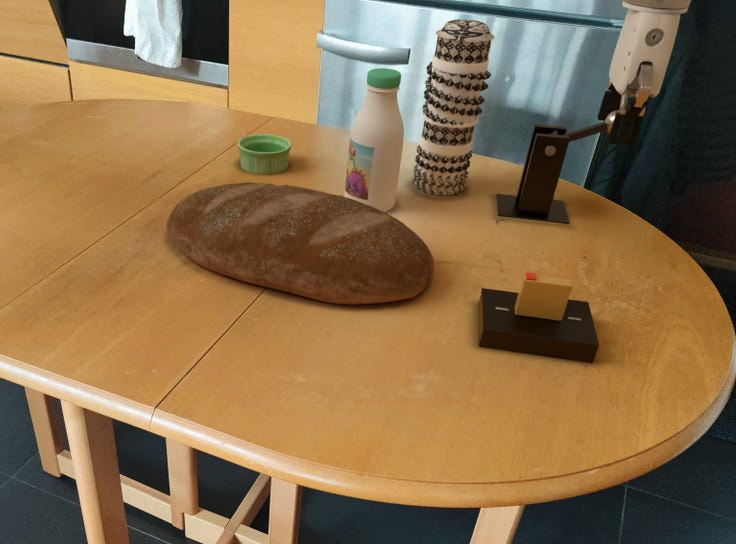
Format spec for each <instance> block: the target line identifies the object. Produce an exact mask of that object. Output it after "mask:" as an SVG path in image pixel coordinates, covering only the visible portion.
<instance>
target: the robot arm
mask: <svg viewBox="0 0 736 544" xmlns="http://www.w3.org/2000/svg"><path fill="white" fill-rule="evenodd" d="M691 2H692V0H622V3H621V6H622V7H624V8H626V9H628V11H627V13H626V15H625V17H624V22H623V24H622V27H621V31H620V33H619V36H618V39H617V42H616V45H615V49H614V52H613V56H612V59H611V63H610V67H609V72H608V77H609V80H608V81H607V85H606V90H605V91H604V92H603V93H604V94H603V96H602V99H601V100H602V101H601V103H600V107H599V110H598V113H597V117H596V118H597V120H598V121H601V122H604V121H605V120H606V118H607V116H608V115H609V114H610V113H611V112H613V111H616V110H620V112H616V115H615V118H614V121H613V124H612V127H611V130H610V133H608V137H607V143H608V144H609V145H616V146H617V145H618V146H627V147H631V146H633V145H634V144H635V141H636V138H637V135H638V132H639V129H640V126H641V123H642V121H643V118H644V115H645V112H646V106H648V103H649V102H648V98H649V97H650V98H655V97H657V96H658V95H659V94H660V92H661V89H662V85H663V82H664V79H665V76H666V72H667V69H668V65H669V62H670V59H671V56H672V52H673V48H674V45H675V40H676V37H677V33H678V29H679V25H680V20H681V14H685V13H687V12H688V10H689V7H690V4H691ZM629 98H630V99H629Z"/></svg>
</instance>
